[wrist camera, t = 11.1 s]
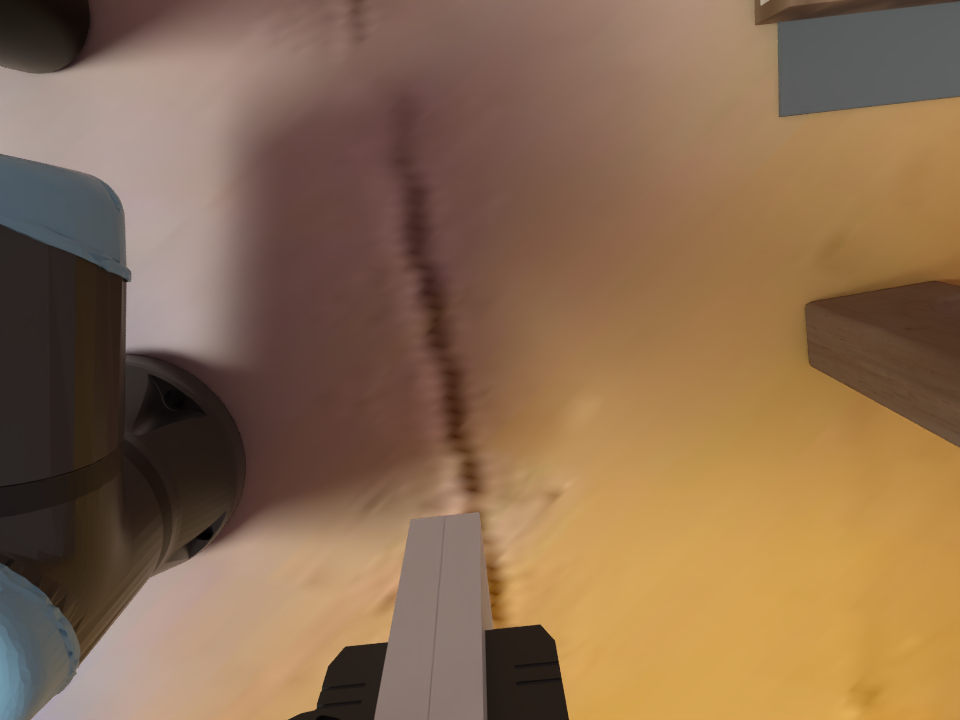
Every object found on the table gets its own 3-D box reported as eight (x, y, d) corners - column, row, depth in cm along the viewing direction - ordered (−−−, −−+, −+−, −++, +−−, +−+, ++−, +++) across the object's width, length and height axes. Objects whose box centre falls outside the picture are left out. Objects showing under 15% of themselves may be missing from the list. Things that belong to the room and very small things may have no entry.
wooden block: (937, 279, 50) (1190, 332, 32) (939, 344, 51) (1185, 430, 33) (802, 302, 50) (980, 368, 32) (806, 366, 51) (981, 463, 33)
